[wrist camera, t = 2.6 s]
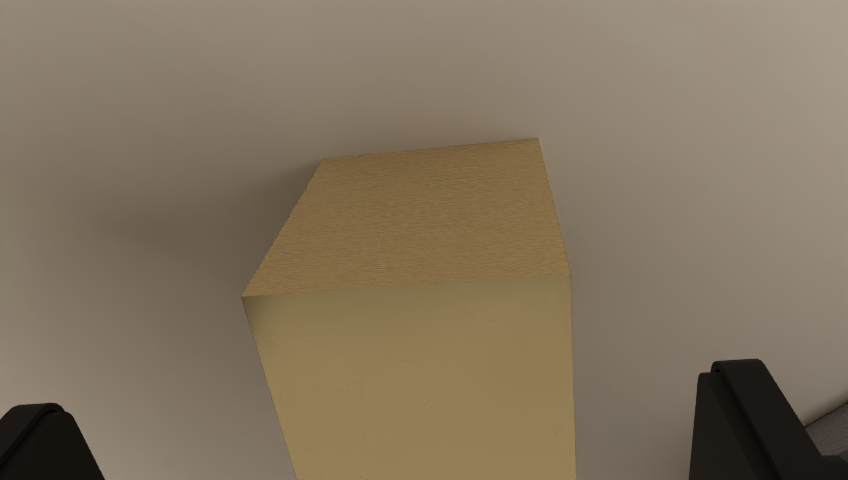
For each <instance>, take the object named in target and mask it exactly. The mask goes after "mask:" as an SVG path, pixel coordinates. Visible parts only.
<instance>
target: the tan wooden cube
mask: <svg viewBox="0 0 848 480" xmlns="http://www.w3.org/2000/svg"><path fill="white" fill-rule="evenodd" d="M241 297H242V301H243V304H244V307H245V311H246V314H247V317H248V321H249V324H250V327H251V330H252V334H253V337H254V340H255V344H256V347H257V350H258V353H259V357H260V360H261V363H262V367H263V370H264V373H265V376H266V380H267V383H268V386H269V390H270V393H271V396H272V400H273V403H274V406H275V409H276V413H277V416H278V419H279V423H280V426H281V429H282V432H283V436H284V439H285V442H286V446H287V449H288V452H289V456H290V459H291V462H292V465H293V469H294V472H295V475H296V479H297V480H576V453H575V418H574V382H573V347H572V311H571V276H570V270H569V266H568V261H567V257H566V253H565V249H564V245H563V240H562V236H561V232H560V228H559V224H558V219H557V215H556V211H555V207H554V203H553V198H552V194H551V190H550V186H549V181H548V177H547V173H546V169H545V165H544V160H543V156H542V152H541V148H540V144H539V139H538V138H536V139H525V140H515V141H505V142H494V143H484V144H473V145H463V146H453V147H442V148H432V149H421V150H411V151H401V152H390V153H380V154H369V155H359V156H349V157H338V158H328V159H323V160H322V162H321V164H320V165H319V167H318V169H317V170H316V172H315V174H314V175H313V177H312V179H311V181H310V182H309V184H308V186H307V187H306V189H305V191H304V192H303V194H302V196H301V197H300V199H299V201H298V202H297V204H296V206H295V207H294V209H293V211H292V212H291V214H290V216H289V217H288V219H287V221H286V222H285V224H284V226H283V227H282V229H281V231H280V232H279V234H278V236H277V237H276V239H275V241H274V243H273V244H272V246H271V248H270V249H269V251H268V253H267V254H266V256H265V258H264V259H263V261H262V263H261V264H260V266H259V268H258V269H257V271H256V273H255V274H254V276H253V278H252V279H251V281H250V283H249V284H248V286H247V288H246V289H245V291H244V293H243V294H242V296H241Z"/></svg>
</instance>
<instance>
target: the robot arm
mask: <svg viewBox="0 0 848 480" xmlns="http://www.w3.org/2000/svg"><path fill="white" fill-rule="evenodd" d="M0 480H105V479H104V477H103V475H102V473H101V471H100V469H99V467H98V465H97V463H96V461H95V459H94V457H93V455H92V453H91V451H90V449H89V447H88V445H87V443H86V441H85V439H84V437H83V435H82V433H81V431H80V429H79V427H78V425H77V423H76V421H75V419H74V418H73V416H72V415H71V414H70V413H68V412H65V411H64V409H63V408H62V407H61V406H60V405H58V404H57V403H43V404H27V405H18V406H15V407H12V408H11V409H10V410H9V411H8V412H7V413H6V414H5V415H4V416H3V417H2V418H1V419H0ZM689 480H848V462H847V461H846V460H844V459H843V458H841V457H840V456H838V455H821V454H820V452H819V450H818V449H817V447H816V446H815V444H814V442H813V441H812V439H811V438H810V436H809V434H808V433H807V431H806V430H805V428H804V427H803V425H802V423H801V422H800V420H799V419H798V417H797V415H796V414H795V412H794V411H793V409H792V407H791V406H790V404H789V403H788V401H787V400H786V398H785V396H784V395H783V393H782V392H781V390H780V388H779V387H778V385H777V384H776V382H775V381H774V379H773V377H772V376H771V374H770V373H769V371H768V369H767V368H766V366H765V365H764V364H763V362H762V361H761V360H759V359H743V360H727V361H716V362H714V363H713V365H712V367H711V372H706V373H700V375H699V377H698V384H697V396H696V407H695V418H694V429H693V440H692V451H691V462H690V474H689Z"/></svg>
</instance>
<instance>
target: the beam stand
mask: <svg viewBox="0 0 848 480" xmlns="http://www.w3.org/2000/svg"><path fill="white" fill-rule="evenodd" d="M805 430H806V431H807V433H808V434H809V436H810V438H811V439H812V441H813V442H814V444H815V446H816V447H817V449H818V450H819V452H820V454H821V455H838V456H840V457H841V458H843V459H844V460H846V461H847V462H848V404H846V405H844V406H842V407H841V408H839V409H837V410H835V411H834V412H832V413H830V414H828V415H827V416H825V417H823V418H821V419H819V420H818V421H816V422H814V423H812V424H811V425H809V426H807V427H805Z"/></svg>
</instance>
